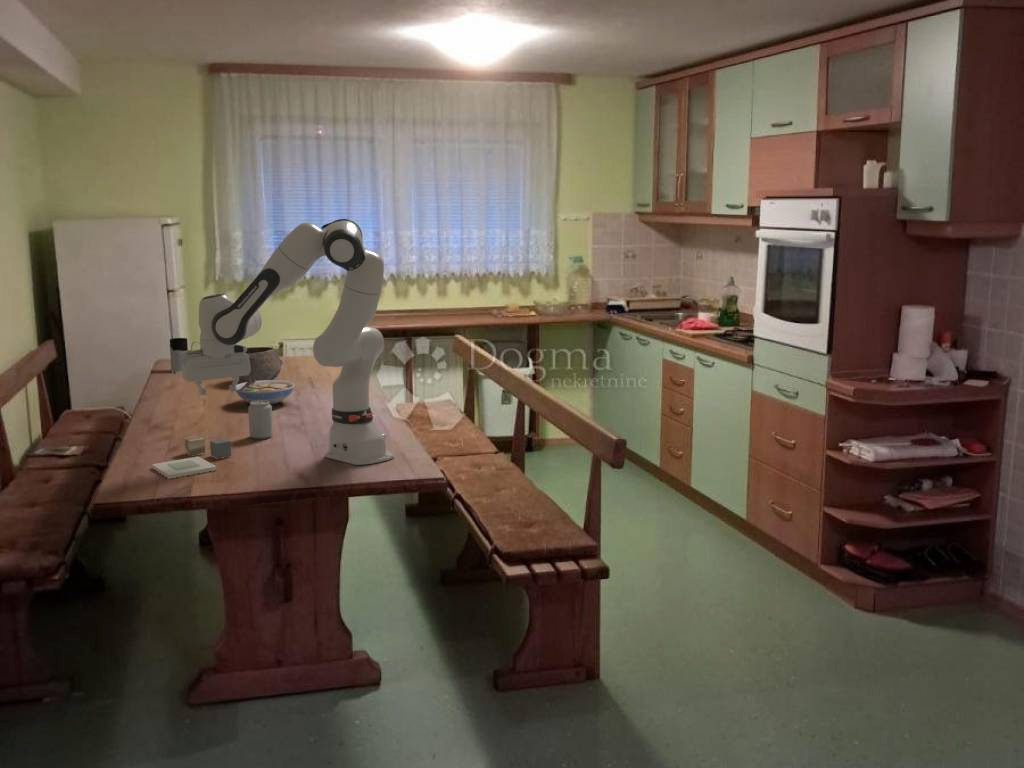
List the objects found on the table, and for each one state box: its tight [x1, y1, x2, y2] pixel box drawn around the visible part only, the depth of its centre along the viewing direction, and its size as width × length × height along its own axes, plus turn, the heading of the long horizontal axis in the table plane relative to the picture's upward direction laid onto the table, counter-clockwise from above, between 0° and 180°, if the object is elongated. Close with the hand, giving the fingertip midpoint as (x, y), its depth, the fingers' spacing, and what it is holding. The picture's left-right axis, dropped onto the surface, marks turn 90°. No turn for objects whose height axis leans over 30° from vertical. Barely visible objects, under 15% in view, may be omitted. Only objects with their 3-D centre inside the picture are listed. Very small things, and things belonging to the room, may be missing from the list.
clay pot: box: [238, 346, 284, 383], centre depth 406 cm, size 21×21×15 cm
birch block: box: [183, 435, 206, 457], centre depth 295 cm, size 5×5×5 cm
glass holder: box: [169, 337, 200, 373], centre depth 434 cm, size 9×14×15 cm, turn 100°
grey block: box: [209, 437, 232, 459], centre depth 292 cm, size 5×5×5 cm
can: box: [247, 400, 274, 440], centre depth 315 cm, size 8×8×12 cm
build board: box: [151, 455, 218, 480], centre depth 279 cm, size 14×14×1 cm
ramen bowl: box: [235, 377, 295, 406], centre depth 366 cm, size 25×23×8 cm
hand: (217, 392), depth 290 cm, fingers open, 8 cm apart
